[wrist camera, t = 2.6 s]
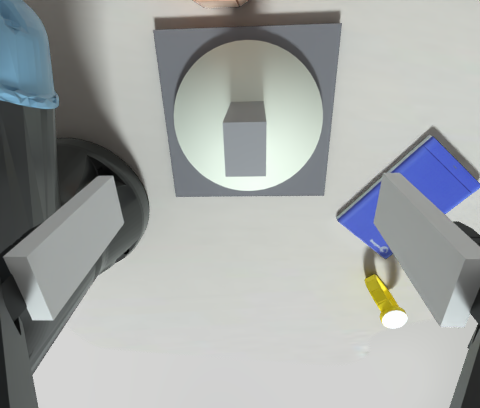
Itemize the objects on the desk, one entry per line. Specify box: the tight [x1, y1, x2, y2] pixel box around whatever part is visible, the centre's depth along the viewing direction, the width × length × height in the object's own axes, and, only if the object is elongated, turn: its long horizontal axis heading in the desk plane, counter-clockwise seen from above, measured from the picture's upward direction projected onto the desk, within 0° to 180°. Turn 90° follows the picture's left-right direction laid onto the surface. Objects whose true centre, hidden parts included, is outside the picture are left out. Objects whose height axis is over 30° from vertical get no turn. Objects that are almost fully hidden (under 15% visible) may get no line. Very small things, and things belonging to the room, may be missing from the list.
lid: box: [174, 40, 323, 191], centre depth 26 cm, size 14×14×9 cm
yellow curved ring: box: [365, 274, 407, 329], centre depth 37 cm, size 6×3×6 cm, turn 40°
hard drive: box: [336, 135, 480, 259], centre depth 34 cm, size 2×8×12 cm
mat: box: [153, 23, 342, 197], centre depth 31 cm, size 16×16×1 cm
